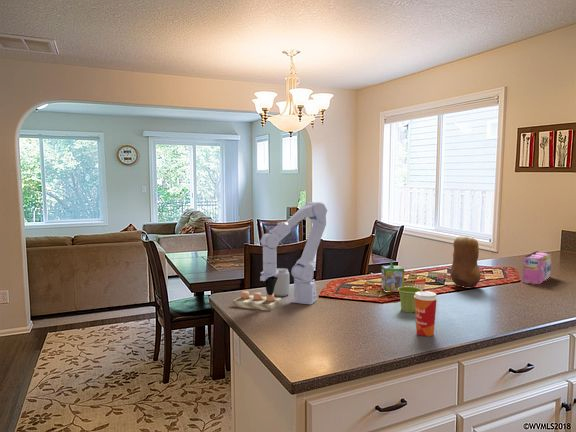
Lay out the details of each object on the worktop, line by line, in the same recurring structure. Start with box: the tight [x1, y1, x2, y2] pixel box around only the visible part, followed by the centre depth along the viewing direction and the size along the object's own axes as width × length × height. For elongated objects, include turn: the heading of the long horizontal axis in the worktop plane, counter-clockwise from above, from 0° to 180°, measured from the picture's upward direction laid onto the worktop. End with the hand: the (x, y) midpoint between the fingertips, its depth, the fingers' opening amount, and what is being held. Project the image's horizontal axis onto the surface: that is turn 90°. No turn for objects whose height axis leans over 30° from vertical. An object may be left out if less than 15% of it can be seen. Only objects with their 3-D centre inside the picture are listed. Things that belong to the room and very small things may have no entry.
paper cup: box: [414, 290, 438, 337], centre depth 145 cm, size 8×8×14 cm
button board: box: [232, 294, 283, 312], centre depth 180 cm, size 18×11×3 cm, turn 68°
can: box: [273, 267, 290, 297], centre depth 196 cm, size 8×8×12 cm
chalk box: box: [380, 259, 405, 291], centre depth 201 cm, size 9×9×15 cm
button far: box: [240, 290, 250, 300], centre depth 182 cm, size 3×3×3 cm
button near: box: [266, 293, 275, 302], centre depth 178 cm, size 3×3×3 cm
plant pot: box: [398, 286, 423, 313], centre depth 171 cm, size 9×9×9 cm
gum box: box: [522, 251, 552, 285], centre depth 221 cm, size 24×8×14 cm, turn 135°
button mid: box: [252, 291, 262, 301], centre depth 180 cm, size 3×3×3 cm
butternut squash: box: [449, 236, 482, 288], centre depth 206 cm, size 14×13×25 cm
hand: (270, 294), depth 178 cm, fingers closed
